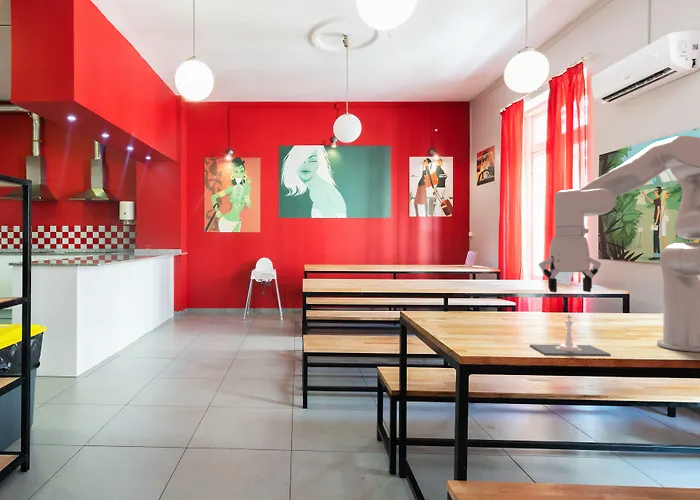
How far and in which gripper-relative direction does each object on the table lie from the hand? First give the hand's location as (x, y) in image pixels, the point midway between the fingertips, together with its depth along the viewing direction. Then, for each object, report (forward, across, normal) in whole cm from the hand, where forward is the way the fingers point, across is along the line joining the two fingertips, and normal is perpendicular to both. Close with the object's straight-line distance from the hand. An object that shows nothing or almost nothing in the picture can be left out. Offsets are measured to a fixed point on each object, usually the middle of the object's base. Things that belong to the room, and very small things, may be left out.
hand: (570, 291), depth 127 cm
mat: (+17, +1, 0) cm, 17 cm away
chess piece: (+17, +1, 0) cm, 17 cm away
